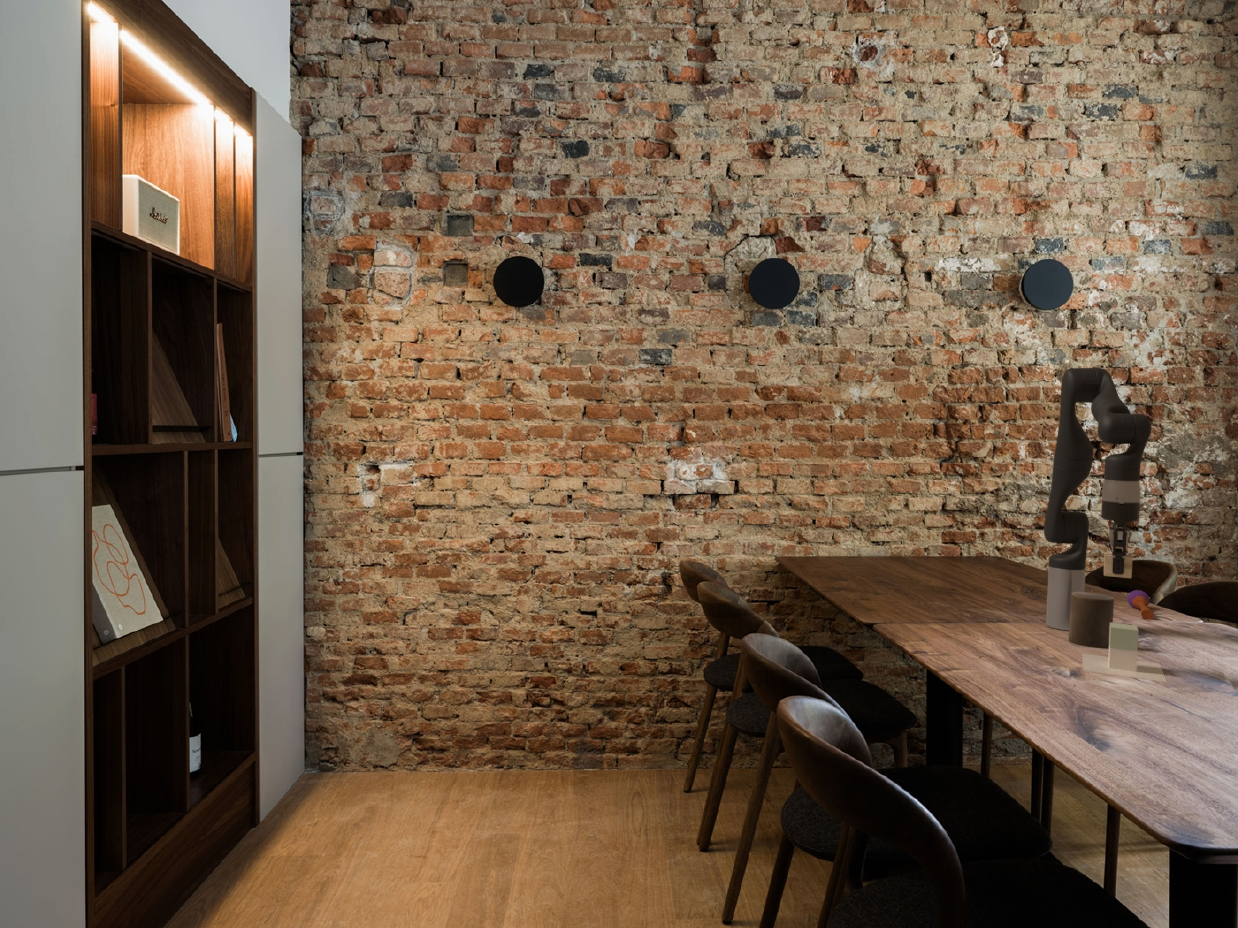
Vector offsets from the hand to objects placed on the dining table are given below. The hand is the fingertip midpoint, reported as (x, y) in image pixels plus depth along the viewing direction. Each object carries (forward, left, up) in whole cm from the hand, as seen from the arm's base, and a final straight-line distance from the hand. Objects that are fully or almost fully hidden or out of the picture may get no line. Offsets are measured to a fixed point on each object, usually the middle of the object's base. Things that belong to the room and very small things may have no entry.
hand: (1117, 571), depth 189 cm
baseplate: (0, +2, -24) cm, 24 cm away
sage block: (0, +2, -18) cm, 18 cm away
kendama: (-77, +11, -24) cm, 82 cm away
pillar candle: (-21, -4, -24) cm, 32 cm away
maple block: (0, 0, -1) cm, 1 cm away
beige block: (0, +2, -22) cm, 22 cm away
